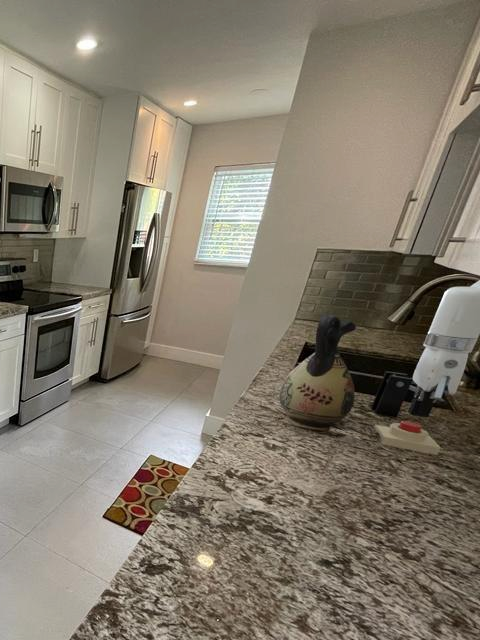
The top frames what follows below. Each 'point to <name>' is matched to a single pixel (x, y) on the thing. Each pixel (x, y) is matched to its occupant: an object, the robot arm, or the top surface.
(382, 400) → the bracket
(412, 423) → the button
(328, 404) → the ceramic jug
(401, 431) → the control block
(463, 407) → the top surface
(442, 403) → the lever
